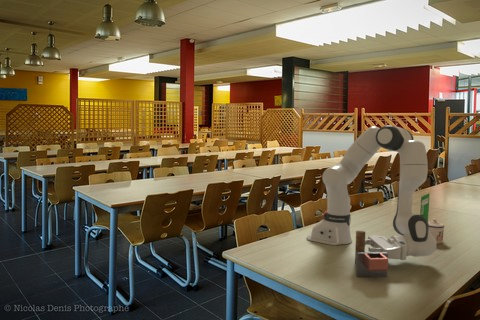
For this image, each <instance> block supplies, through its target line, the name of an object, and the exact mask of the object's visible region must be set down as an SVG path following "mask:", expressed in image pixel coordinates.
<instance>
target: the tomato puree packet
mask: <svg viewBox="0 0 480 320" xmlns="http://www.w3.org/2000/svg"><path fill="white" fill-rule="evenodd" d="M429 207H430V193H426V194H425V195H422V196H421V197H420V213H419V215H422V216H423V217H425V218H426V219H427V221H428V222H429V209H430V208H429Z"/></svg>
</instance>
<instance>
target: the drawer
mask: <svg viewBox="0 0 480 320" xmlns="http://www.w3.org/2000/svg"><path fill="white" fill-rule="evenodd" d="M388 269H389V259H388V253H387V252H369V251H365V252H356V264H355V277H357V278H378V277H379V278H387V277H388Z"/></svg>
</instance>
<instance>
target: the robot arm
mask: <svg viewBox="0 0 480 320" xmlns="http://www.w3.org/2000/svg"><path fill="white" fill-rule="evenodd" d="M380 149H385V150H388V151H393V152H397V154H399V165H400V166H399V183H398V187H397V188H398V191H397V203H396V212H395V215H394V217H393V221H392V227H393V229H394V231H395V233H397V234H398V235H391V236H389V238H387V237H386V236H384V235H368V236H367V239H365V246H366V245H367V246H371V247H368V251H367V252H387V253H388V260H401V261H406V259H407V257H415V258H417V257H419V258H420V257H428V256H431V255H433V254H435V252H436V250H437V247H438V246H437V244H436V240H435V238H434V237H433V236H432V235H431V233H430V230H429V224H428V222H429V220H428V221H427V219H426V218H425V217H423V216H422V215H420V214H416V213H414V214H413V212H412V211H413V198H414V193H415V191H416V190H417V189H418V188H420V187H421V186H422V185H423V184H424V183H425V182H426V181H427V177H428V170H429V169H428V156H427V149H426V145H425V143H424V142H422V141H420V140H417V139H415V138H414V136H413V134H412V133H411V132H410V131H409V130H407V129H406V128H402V127H400V126H394V125H390V124H389V125H388V124H386V125H384V126H381V127H378V126H375V125H374V126H373V125H372V126H370V127H368V128H366V129H365V130H364V131H363V132H362V133H361V134H360V135H358V137H357V138H356V139H354V142H353V143H352V144H351V145H350V146H349V147H348V149H346V151H345V153H344V156H343V157H342V158H341V160H340V161H339V162H338V163H337V164H335V165H331V166H329V167H328V168H326V169H325V170H324V171H323V173H322V175H321V176H322V178H321V179H322V182H323V184H324V185H325V189H326V197H327V207H326V208H327V209H326V210H325V211H324V212H323V213H322V214H323V215H322V218H323V219H321V220H320V221H319V222H317V223H315V224H314V225H313V227H312V229H311V232H310V233H308V234H307V237H306V239H307V241H311V242H315V243H321V244H326V245H330V246H339V245H347V244H351V243H353V240H352V236H351V228H350V227H351V220H352V217H351V211H350V210H351V197H350V195H349V192H348V190H349V189H348V185H349V184H351V183H352V182H353V181H354V180H355V179H356V178H357V176H358V175H359V173H360V172H361V171H362V169H363V168H364V166H366V164H367V163H368V162H369V161H370V160H371V159H372V158H373V156H374V155H376V153H377V152H378V151H379V150H380Z"/></svg>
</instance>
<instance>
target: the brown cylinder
mask: <svg viewBox="0 0 480 320" xmlns="http://www.w3.org/2000/svg"><path fill="white" fill-rule="evenodd" d="M365 240H366V231H364V230H356V231H355V254H354V264H355V265H356V252H366V245H365Z"/></svg>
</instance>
